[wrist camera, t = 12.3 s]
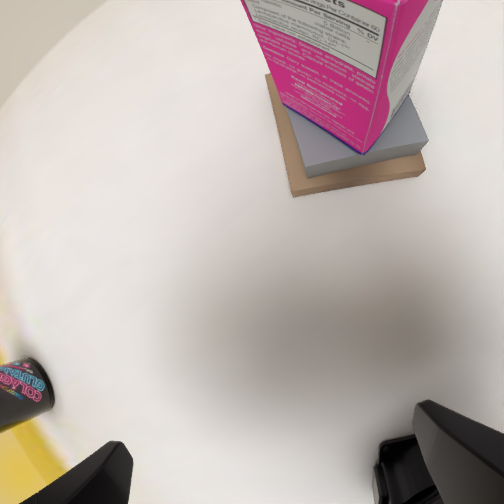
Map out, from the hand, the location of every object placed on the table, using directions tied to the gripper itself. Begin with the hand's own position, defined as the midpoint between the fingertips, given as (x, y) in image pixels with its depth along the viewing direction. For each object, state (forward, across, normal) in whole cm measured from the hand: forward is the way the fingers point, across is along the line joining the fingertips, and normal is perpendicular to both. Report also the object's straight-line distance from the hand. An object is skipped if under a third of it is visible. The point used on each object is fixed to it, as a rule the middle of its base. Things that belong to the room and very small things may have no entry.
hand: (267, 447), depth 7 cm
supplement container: (+16, +27, +9) cm, 33 cm away
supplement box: (+11, -7, -12) cm, 17 cm away
